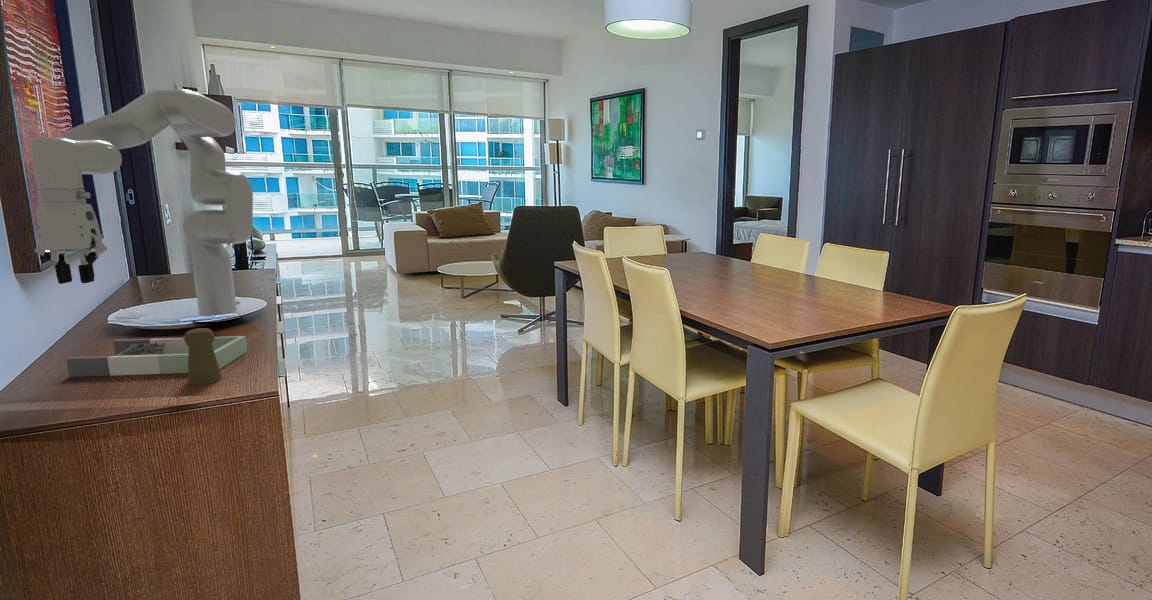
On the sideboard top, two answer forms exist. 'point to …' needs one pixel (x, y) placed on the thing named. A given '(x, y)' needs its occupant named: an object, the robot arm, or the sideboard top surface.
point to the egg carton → (143, 349)
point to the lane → (153, 358)
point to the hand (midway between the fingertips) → (76, 281)
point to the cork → (201, 357)
